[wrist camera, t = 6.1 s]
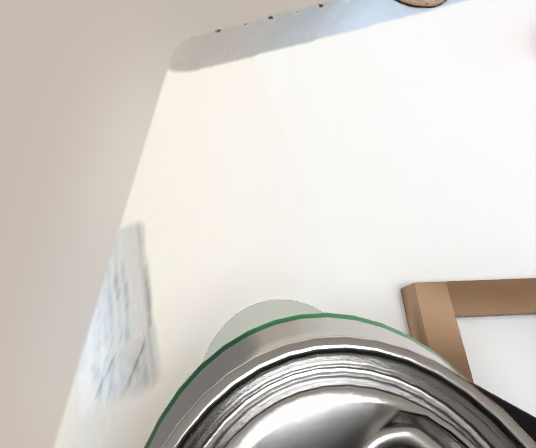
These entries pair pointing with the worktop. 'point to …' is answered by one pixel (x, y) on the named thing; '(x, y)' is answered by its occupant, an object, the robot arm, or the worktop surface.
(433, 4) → the flatbread
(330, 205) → the worktop surface
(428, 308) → the pocket frame
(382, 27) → the worktop surface
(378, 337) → the soda can
